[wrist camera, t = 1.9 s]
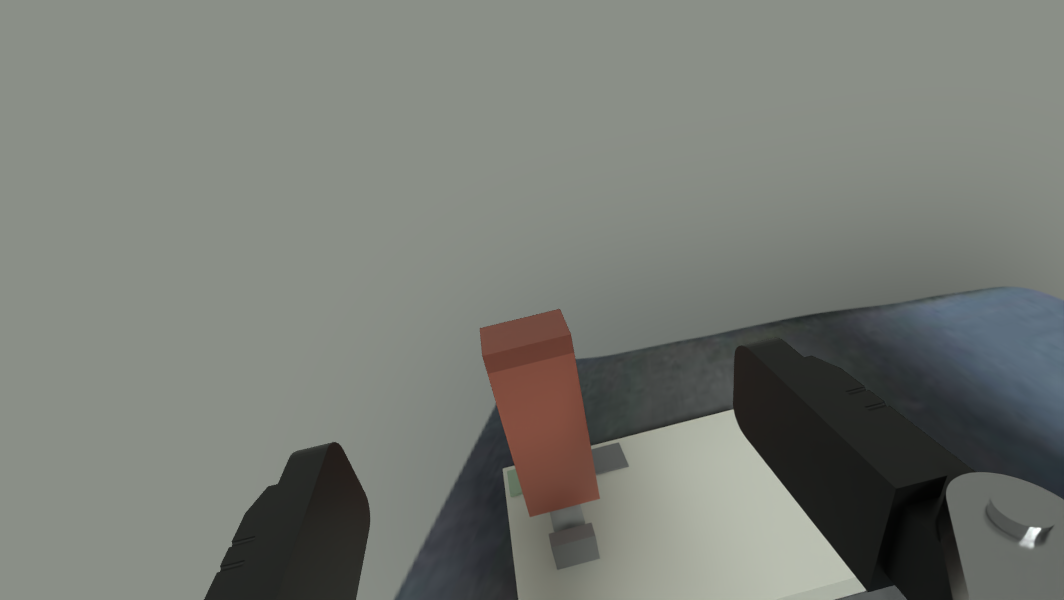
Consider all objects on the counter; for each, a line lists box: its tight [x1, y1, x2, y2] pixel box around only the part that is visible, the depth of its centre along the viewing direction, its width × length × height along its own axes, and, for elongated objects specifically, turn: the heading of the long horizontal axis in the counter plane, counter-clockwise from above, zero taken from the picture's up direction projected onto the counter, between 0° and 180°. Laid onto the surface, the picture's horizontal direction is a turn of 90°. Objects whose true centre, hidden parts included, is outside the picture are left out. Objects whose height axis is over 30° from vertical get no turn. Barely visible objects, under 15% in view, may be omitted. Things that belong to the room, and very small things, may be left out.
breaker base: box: [503, 409, 867, 600], centre depth 27 cm, size 18×12×4 cm
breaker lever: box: [480, 309, 600, 532], centre depth 24 cm, size 4×3×13 cm
